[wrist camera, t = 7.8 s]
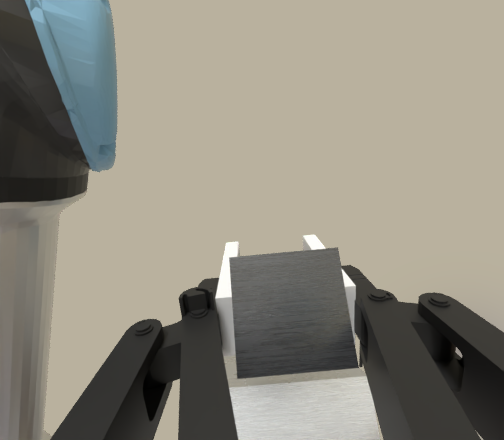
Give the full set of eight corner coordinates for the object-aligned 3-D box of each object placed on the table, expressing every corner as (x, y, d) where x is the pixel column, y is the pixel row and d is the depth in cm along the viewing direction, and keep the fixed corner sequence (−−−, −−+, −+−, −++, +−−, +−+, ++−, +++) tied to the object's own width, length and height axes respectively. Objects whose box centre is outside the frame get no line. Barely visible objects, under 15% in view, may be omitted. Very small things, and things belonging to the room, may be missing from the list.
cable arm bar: (388, 365, 9) (354, 194, 11) (206, 381, 9) (199, 208, 11) (297, 315, 30) (290, 260, 32) (243, 320, 30) (239, 265, 32)
